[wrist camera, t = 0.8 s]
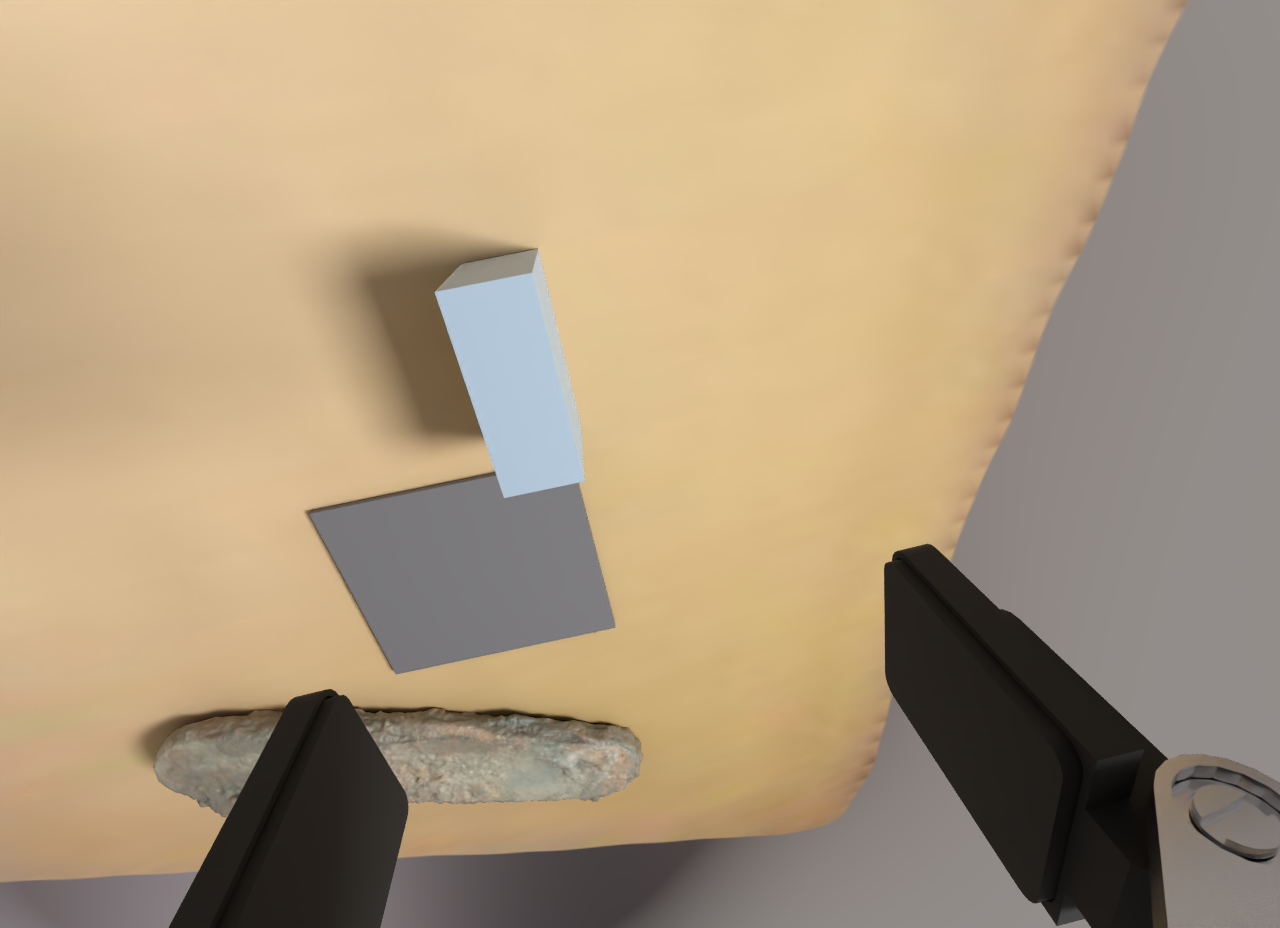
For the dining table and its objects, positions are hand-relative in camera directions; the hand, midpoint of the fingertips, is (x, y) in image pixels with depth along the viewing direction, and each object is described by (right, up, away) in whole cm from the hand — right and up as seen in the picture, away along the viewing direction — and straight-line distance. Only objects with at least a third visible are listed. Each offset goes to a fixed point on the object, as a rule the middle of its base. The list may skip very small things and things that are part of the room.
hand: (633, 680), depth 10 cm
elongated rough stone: (-17, -18, +36) cm, 44 cm away
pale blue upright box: (-6, +10, +22) cm, 25 cm away
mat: (-11, -3, +28) cm, 31 cm away
